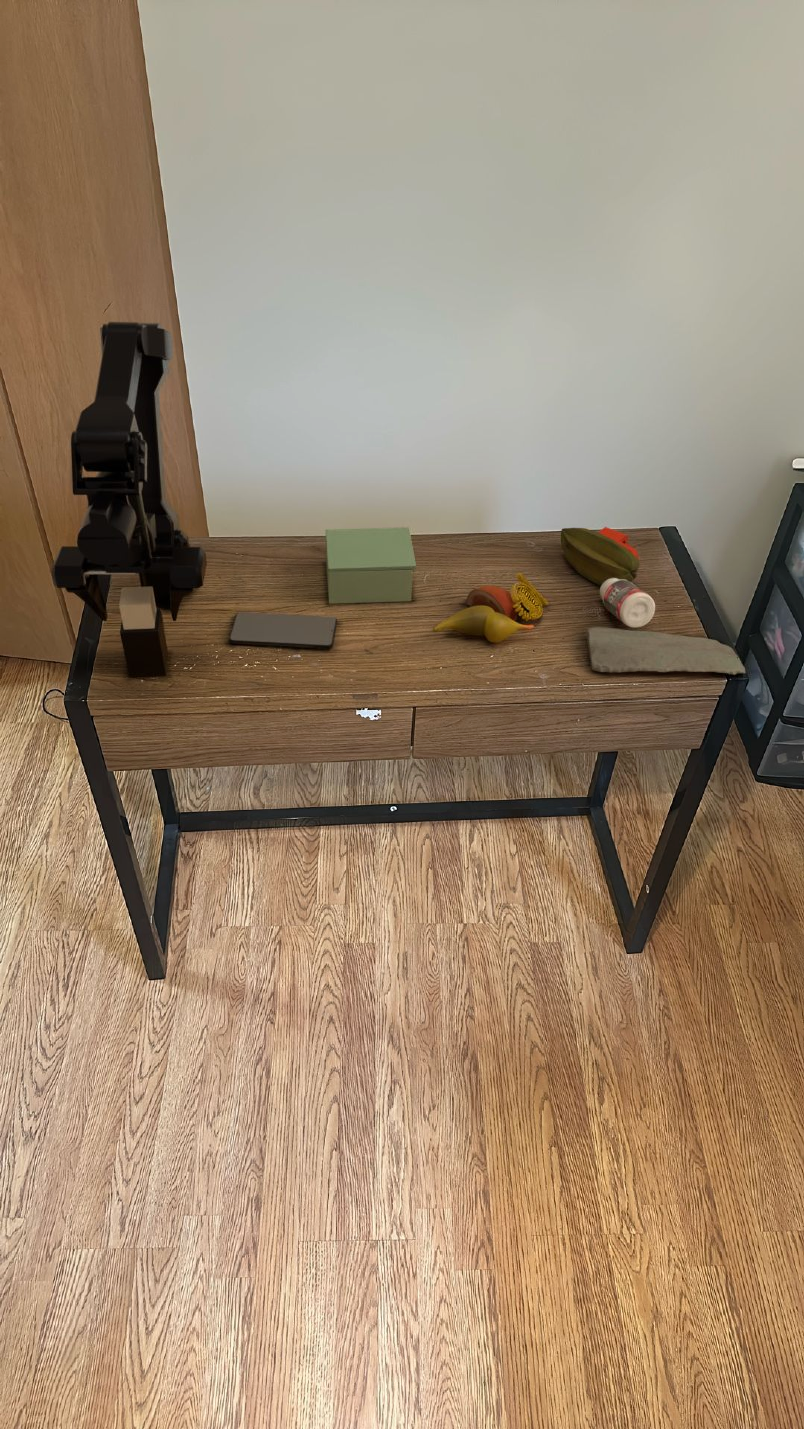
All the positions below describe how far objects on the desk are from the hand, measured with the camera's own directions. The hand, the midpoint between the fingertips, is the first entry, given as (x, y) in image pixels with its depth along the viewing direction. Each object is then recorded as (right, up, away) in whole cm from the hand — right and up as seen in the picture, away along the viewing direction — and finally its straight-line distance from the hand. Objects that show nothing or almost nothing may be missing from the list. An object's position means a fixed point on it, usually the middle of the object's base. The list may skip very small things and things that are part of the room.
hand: (140, 619), depth 130 cm
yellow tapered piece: (+46, +2, +14) cm, 48 cm away
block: (0, 0, 0) cm, 0 cm away
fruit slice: (+51, +6, +16) cm, 53 cm away
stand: (0, -6, +6) cm, 8 cm away
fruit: (+69, +14, +25) cm, 75 cm away
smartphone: (+18, -1, +12) cm, 21 cm away
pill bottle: (+70, +2, +11) cm, 71 cm away
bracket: (+68, +14, +27) cm, 74 cm away
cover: (+30, +12, +18) cm, 37 cm away
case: (+30, +8, +22) cm, 38 cm away
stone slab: (+73, -1, +15) cm, 75 cm away
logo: (+55, +7, +18) cm, 59 cm away
